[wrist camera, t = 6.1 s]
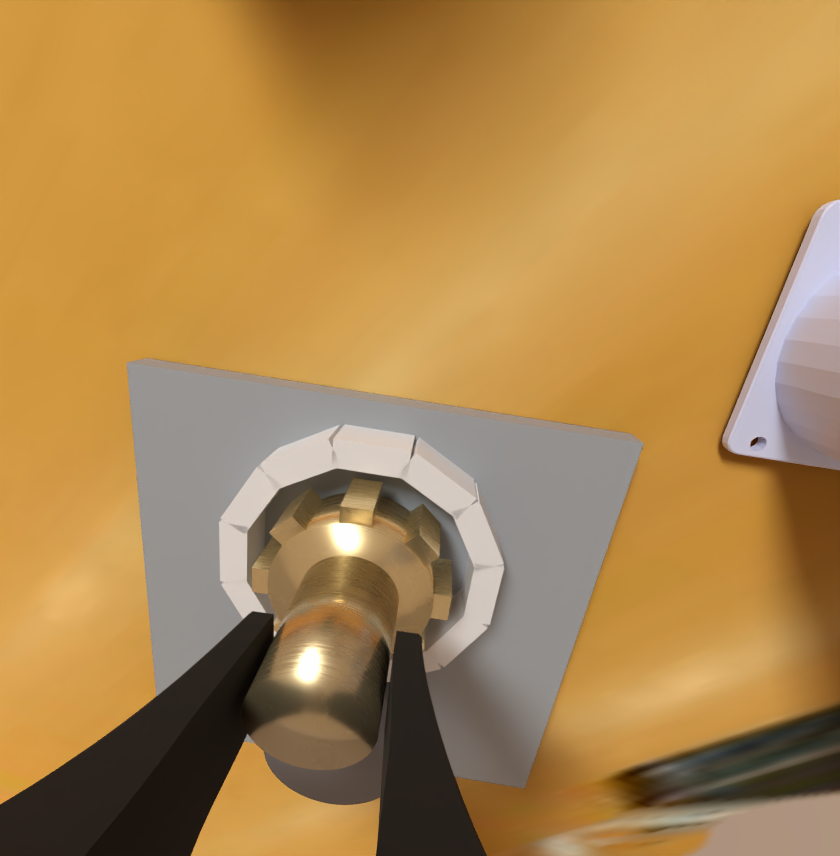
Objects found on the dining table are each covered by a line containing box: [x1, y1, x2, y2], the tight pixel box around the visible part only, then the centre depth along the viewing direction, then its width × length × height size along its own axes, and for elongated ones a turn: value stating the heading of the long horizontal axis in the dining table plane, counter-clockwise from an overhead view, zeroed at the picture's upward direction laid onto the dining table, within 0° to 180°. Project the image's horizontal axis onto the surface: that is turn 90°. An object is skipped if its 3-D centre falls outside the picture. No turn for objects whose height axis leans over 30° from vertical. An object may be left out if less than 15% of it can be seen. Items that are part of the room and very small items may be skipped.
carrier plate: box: [127, 358, 644, 805], centre depth 16 cm, size 18×18×4 cm
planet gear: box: [241, 478, 452, 770], centre depth 12 cm, size 6×6×6 cm
